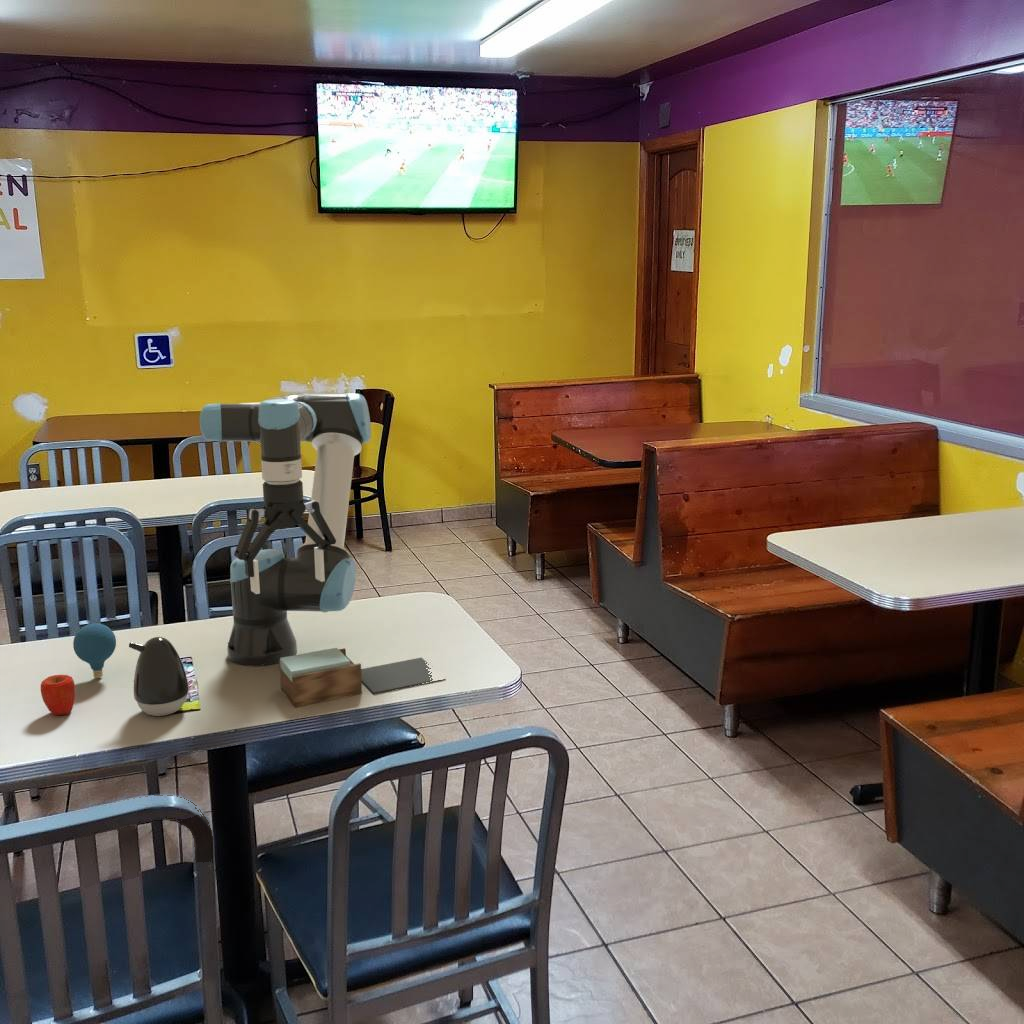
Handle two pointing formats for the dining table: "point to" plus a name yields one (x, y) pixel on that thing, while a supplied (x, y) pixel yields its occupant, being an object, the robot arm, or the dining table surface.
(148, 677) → the pump dispenser
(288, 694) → the box
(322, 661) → the lid
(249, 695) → the dining table surface
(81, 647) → the light bulb
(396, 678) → the mat
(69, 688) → the apple
